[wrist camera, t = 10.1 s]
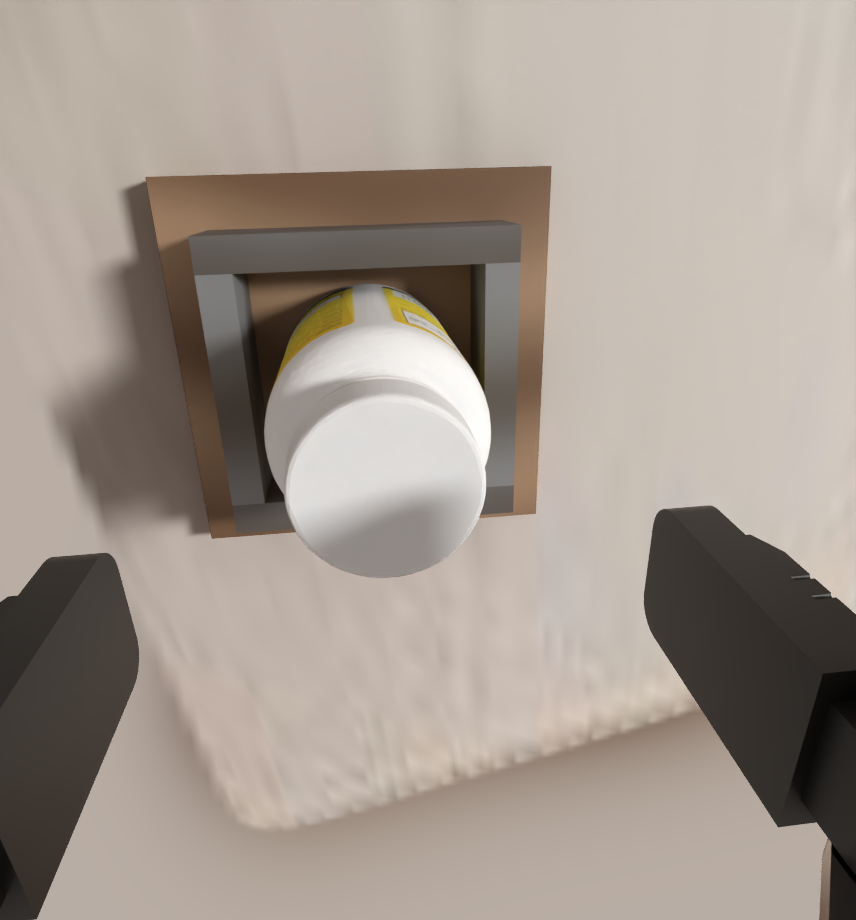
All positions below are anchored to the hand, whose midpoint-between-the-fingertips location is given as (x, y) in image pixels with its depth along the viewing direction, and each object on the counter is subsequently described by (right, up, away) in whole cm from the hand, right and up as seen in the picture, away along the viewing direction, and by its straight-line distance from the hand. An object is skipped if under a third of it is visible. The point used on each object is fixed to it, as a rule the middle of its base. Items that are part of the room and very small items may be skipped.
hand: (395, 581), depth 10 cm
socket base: (-2, +5, +13) cm, 14 cm away
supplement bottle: (-1, +5, +12) cm, 13 cm away
